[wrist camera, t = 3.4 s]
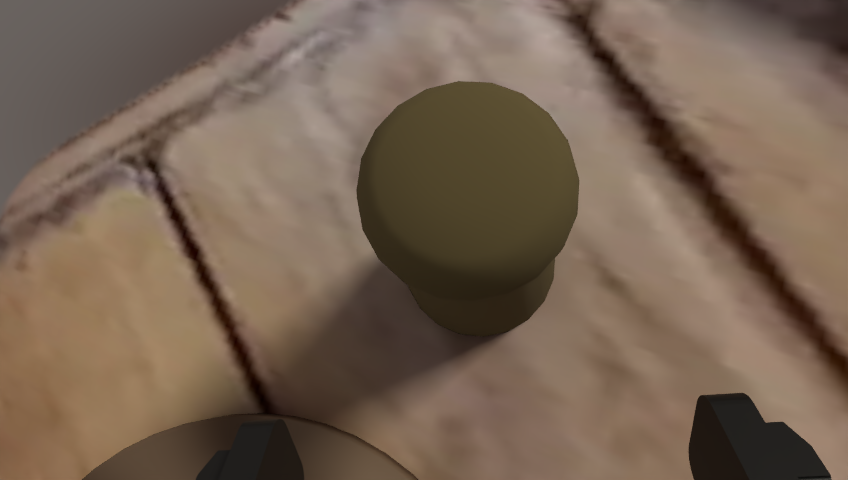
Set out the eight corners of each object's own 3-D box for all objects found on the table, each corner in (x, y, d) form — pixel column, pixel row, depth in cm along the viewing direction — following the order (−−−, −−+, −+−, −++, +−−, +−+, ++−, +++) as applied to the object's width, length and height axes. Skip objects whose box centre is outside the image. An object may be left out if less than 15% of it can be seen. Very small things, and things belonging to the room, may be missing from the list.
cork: (502, 367, 21) (509, 375, 10) (376, 283, 22) (266, 212, 12) (584, 237, 22) (669, 118, 11) (456, 163, 23) (421, -7, 12)
